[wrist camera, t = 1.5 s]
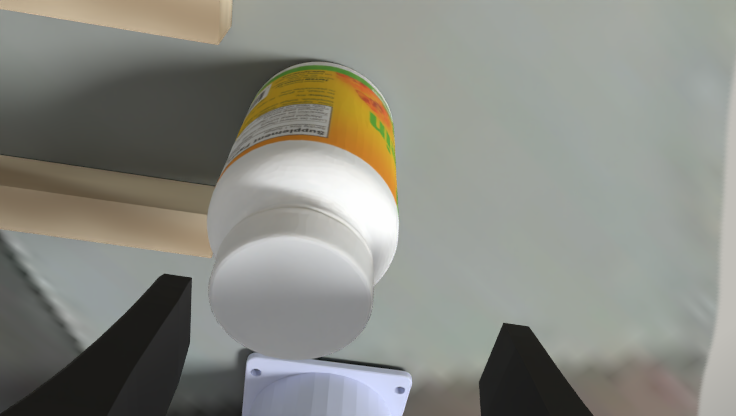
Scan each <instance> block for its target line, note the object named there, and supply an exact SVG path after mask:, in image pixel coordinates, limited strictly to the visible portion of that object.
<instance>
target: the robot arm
mask: <svg viewBox="0 0 736 416" xmlns="http://www.w3.org/2000/svg"><path fill="white" fill-rule="evenodd" d="M191 288H192V278H190V277H183V276H177V275H170V274H163V275H161V276H160V277H159V278H158V279H157V280H156V281H155V282H154V283H153V284H152V286H151V287H150V288H149V289H148V290H147V291H146V292H145V293H144V294H143V295H142V296H141V297H140V299H139V300H138V301H137V302H136V303H135V304H134V305H133V306H132V307H131V308H130V309H129V310H128V311H127V312H126V313H125V314H124V315H123V316H122V317H121V318H120V319H119V320H118V321H117V322H116V323H114V324H113V325H112V326H111V327H110V328H109V329H108V330H107V331H106V332H105V333H104V334H103V335H102V336H101V337H100V338H99V339H97V340H96V341H95V342H94V343H93V344H92V345H91V346H89V347H88V348H87V349H86V350H85V351H84V352H82V353H81V354H80V355H79V356H78V357H77V358H75V359H74V360H73V361H72V362H71V363H70V364H68V365H67V366H66V367H65V368H63V369H62V370H61V371H60V372H58V373H57V374H56V375H55V376H53V377H52V378H51V379H49V380H48V381H47V382H45V383H44V384H43V385H41V386H40V387H39V388H37V389H36V390H34V391H33V392H32V393H30V394H29V395H28V396H26V397H25V398H23V399H22V400H20V401H19V402H17V403H16V404H14V405H13V406H11V407H10V408H8V409H7V410H5V411H4V412H2V413H1V414H0V416H165V415H166V412H167V410H168V407H169V405H170V403H171V400H172V398H173V395H174V393H175V390H176V388H177V386H178V383H179V379H180V376H181V372H182V369H183V366H184V362H185V359H186V355H187V351H188V348H189V344H190V323H191ZM255 369H259V370H255ZM411 385H412V376H411V375H410V374H409V373H408V372H406V371H400V370H393V369H385V368H377V367H369V366H361V365H353V364H345V363H337V362H329V361H321V360H314V359H305V360H287V359H279V358H274V357H269V356H266V355H263V354H259V353H252V354H250V355H249V356H248V358H247V362H246V372H245V384H244V396H243V408H242V416H402V415H403V411H404V408H405V405H406V401H407V398H408V395H409V392H410V388H411ZM398 387H401V388H398ZM479 389H480V406H481V416H593V414H592V413H591V412H590V411H589V409H588V408H587V407H586V406H585V404H584V403H583V402H582V400H581V399H580V398H579V396H578V395H577V394H576V392H575V391H574V390H573V388H572V387H571V386H570V384H569V383H568V382H567V380H566V379H565V377H564V376H563V375H562V373H561V372H560V370H559V369H558V368H557V366H556V365H555V363H554V362H553V360H552V359H551V358H550V356H549V355H548V353H547V352H546V350H545V349H544V348H543V346H542V345H541V343H540V342H539V340H538V339H537V337H536V336H535V335H534V333H533V332H532V330H531V329H530V328H529V327H528V326H522V325H515V324H508V323H503V325H502V328H501V330H500V333H499V335H498V337H497V340H496V342H495V345H494V347H493V350H492V352H491V354H490V357H489V359H488V362H487V364H486V366H485V369H484V371H483V374H482V376H481V379H480V381H479Z"/></svg>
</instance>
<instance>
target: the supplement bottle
mask: <svg viewBox="0 0 736 416" xmlns="http://www.w3.org/2000/svg"><path fill="white" fill-rule="evenodd" d="M398 230H399V214H398V197H397V182H396V161H395V139H394V127H393V120H392V116H391V112H390V109H389V107H388V104H387V102H386V101H385V99H384V97H383V95H382V94H381V93H380V91H379V90H378V89H377V88H376V87H375V86H374V85H373V84H372V83H371V82H370V81H369V80H368V79H367V78H365V77H364V76H363V75H361V74H360V73H358V72H356V71H354V70H353V69H350V68H348V67H345V66H342V65H339V64H334V63H329V62H307V63H302V64H297V65H294V66H291V67H289V68H286V69H284V70H282V71H281V72H279V73H277V74H276V75H275V76H273V77H272V78H271V79H270V80H268V81H267V82H266V83H265V84H264V85H263V87H262V88H261V89H260V90H259V92H258V93H257V95H256V96H255V98H254V100H253V102H252V104H251V106H250V108H249V110H248V112H247V114H246V117H245V119H244V122H243V124H242V126H241V129H240V131H239V133H238V135H237V138H236V140H235V142H234V145H233V147H232V149H231V152H230V154H229V156H228V159H227V161H226V163H225V166H224V168H223V170H222V172H221V175H220V177H219V179H218V181H217V184H216V186H215V189H214V191H213V194H212V197H211V201H210V204H209V208H208V214H207V232H208V239H209V243H210V247H211V250H212V252H213V255H214V257H215V259H216V260H215V264H214V267H213V270H212V273H211V276H210V280H209V287H208V296H209V303H210V306H211V310H212V312H213V314H214V317H215V318H216V320H217V322H218V323H219V325H220V326H221V327H222V329H223V330H224V331H225V332H226V333H227V334H228V335H229V336H230V337H232V338H233V339H234V340H235V341H237V342H238V343H240V344H241V345H243V346H245V347H246V348H248V349H250V350H252V351H255V352H257V353H259V354H263V355H266V356H269V357H274V358H279V359H287V360H305V359H314V358H319V357H323V356H326V355H329V354H332V353H334V352H337V351H339V350H341V349H342V348H344V347H345V346H347V345H349V344H350V343H351V342H352V341H354V340H355V339H356V338H357V337H358V336H359V335H360V333H361V332H362V331H363V329H364V328H365V326H366V324H367V322H368V320H369V318H370V315H371V312H372V307H373V295H374V285H375V284H376V283H377V282H378V281H379V280H380V279H381V278H382V276H383V275H384V274H385V272H386V271H387V269H388V267H389V266H390V264H391V262H392V259H393V257H394V254H395V251H396V248H397V243H398Z"/></svg>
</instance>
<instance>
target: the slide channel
mask: <svg viewBox="0 0 736 416" xmlns="http://www.w3.org/2000/svg"><path fill="white" fill-rule="evenodd" d="M0 9H4V10H10V11H16V12H22V13H28V14H34V15H40V16H47V17H53V18H59V19H65V20H71V21H77V22H83V23H89V24H95V25H101V26H107V27H113V28H119V29H125V30H131V31H137V32H143V33H149V34H155V35H161V36H167V37H173V38H179V39H185V40H191V41H197V42H203V43H209V44H215V45H219V43H220V42H221V41H222V39H223V38H224V36H225V35H226V33H227V32H228V30H229V29H230V27H231V23H232V0H0ZM214 189H215V186H208V185H202V184H195V183H188V182H181V181H175V180H168V179H161V178H154V177H147V176H141V175H134V174H127V173H120V172H113V171H107V170H100V169H93V168H86V167H80V166H73V165H66V164H59V163H52V162H46V161H39V160H32V159H25V158H18V157H12V156H5V155H0V229H4V230H11V231H19V232H26V233H33V234H40V235H48V236H55V237H62V238H69V239H77V240H84V241H91V242H98V243H106V244H113V245H120V246H127V247H135V248H142V249H149V250H156V251H164V252H171V253H178V254H185V255H193V256H200V257H207V258H212V255H213V252H212V250H211V247H210V243H209V239H208V232H207V214H208V208H209V204H210V201H211V197H212V194H213V191H214Z"/></svg>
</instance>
